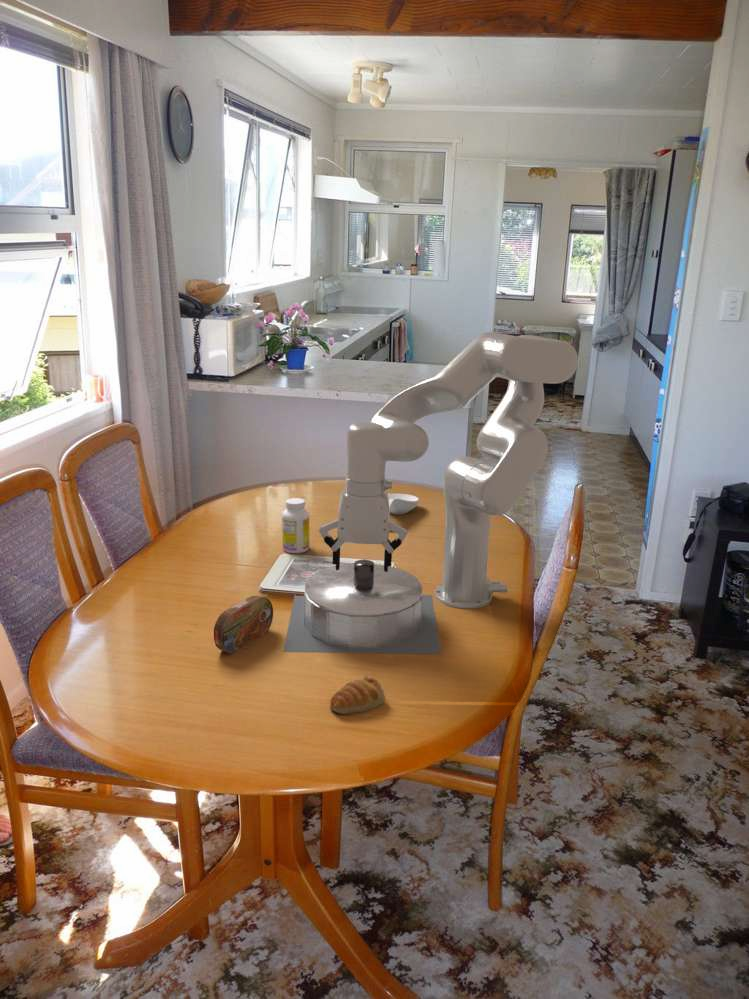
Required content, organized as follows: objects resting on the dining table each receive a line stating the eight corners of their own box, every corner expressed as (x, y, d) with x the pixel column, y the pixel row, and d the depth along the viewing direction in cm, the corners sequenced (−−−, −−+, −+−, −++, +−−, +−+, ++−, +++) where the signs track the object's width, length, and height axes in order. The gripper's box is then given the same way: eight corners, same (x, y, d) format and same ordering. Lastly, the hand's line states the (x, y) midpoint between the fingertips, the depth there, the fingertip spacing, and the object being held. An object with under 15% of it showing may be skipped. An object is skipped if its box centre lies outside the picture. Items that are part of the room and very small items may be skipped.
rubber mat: (431, 596, 180) (431, 595, 180) (441, 655, 155) (441, 654, 155) (295, 594, 179) (295, 592, 179) (283, 653, 155) (283, 651, 155)
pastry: (345, 723, 134) (345, 703, 133) (320, 705, 139) (320, 686, 138) (388, 703, 140) (389, 684, 139) (363, 687, 145) (363, 668, 144)
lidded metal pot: (417, 596, 179) (420, 542, 175) (424, 650, 156) (427, 590, 152) (308, 595, 178) (308, 540, 174) (300, 648, 156) (299, 587, 152)
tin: (224, 661, 152) (222, 620, 149) (211, 656, 153) (209, 616, 151) (275, 629, 164) (274, 591, 161) (262, 625, 165) (261, 587, 163)
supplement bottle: (305, 543, 208) (305, 495, 204) (312, 552, 202) (312, 503, 198) (280, 545, 206) (279, 497, 202) (285, 555, 200) (285, 506, 196)
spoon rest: (383, 502, 241) (384, 479, 239) (422, 506, 238) (423, 483, 236) (361, 529, 219) (361, 504, 217) (403, 534, 216) (404, 508, 214)
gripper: (408, 482, 162) (404, 562, 167) (321, 479, 161) (319, 559, 167) (410, 494, 154) (405, 577, 160) (319, 490, 154) (317, 574, 159)
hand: (361, 568), depth 163 cm, fingers open, 9 cm apart
